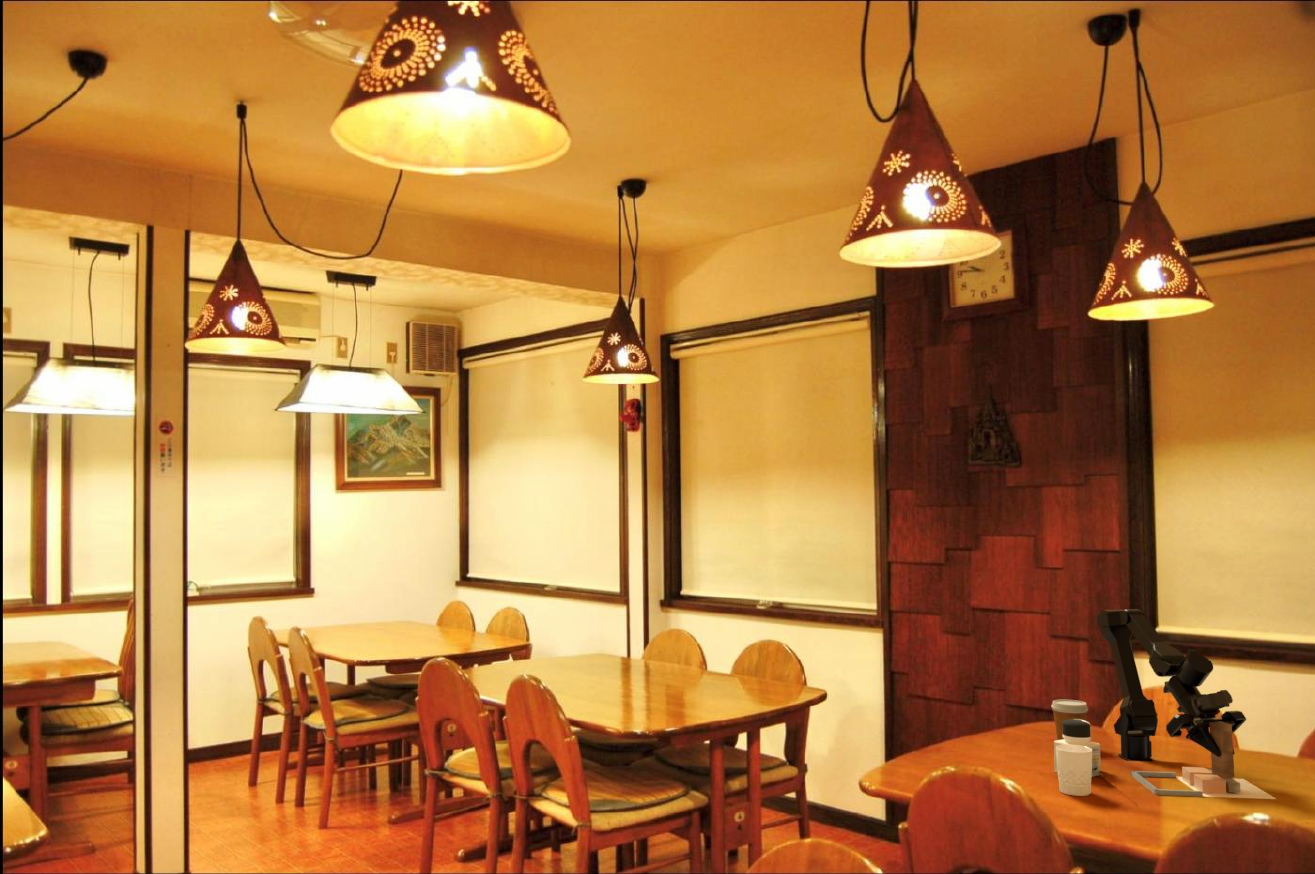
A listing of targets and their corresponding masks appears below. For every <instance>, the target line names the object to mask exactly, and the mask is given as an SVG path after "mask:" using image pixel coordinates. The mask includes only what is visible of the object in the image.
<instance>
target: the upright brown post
mask: <svg viewBox="0 0 1315 874" xmlns="http://www.w3.org/2000/svg"><path fill="white" fill-rule="evenodd" d="M1209 724H1210V727H1209V733H1210V734H1211V736H1212V738H1213V739H1214V741H1215V743H1216V744H1217V746H1218V748H1219V749H1220V752H1221V754H1222V755H1221V756H1220V757H1217V756H1216V755H1214V754H1213V753H1211V752H1210V759H1211V768H1209V769H1208V768H1206V769H1207V770H1209V771H1210V772H1212V773H1213V775H1218V776H1219V777H1221V778H1222V779H1224V780H1226V790H1227V791H1228V792H1240V783H1239V782H1237V781H1236V780H1234V779H1235V766H1234V765H1235V763H1234V762H1235V761H1234V755H1233V748H1234V743H1233V733H1232V724H1228V723H1224V722H1211V723H1209Z"/></svg>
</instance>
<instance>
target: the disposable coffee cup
mask: <svg viewBox="0 0 1315 874" xmlns="http://www.w3.org/2000/svg"><path fill="white" fill-rule="evenodd" d="M1050 706H1051V708H1052V712H1053V718H1054V725H1055V733H1056V739H1057V740H1063V739H1064V738H1063V733H1062V722H1063V721H1065V720H1067V719H1080V720H1085V721H1087V712H1088V710H1089V707H1088V705H1087V702H1085V701H1082V700H1075V699H1055V700H1052V703H1051V705H1050Z"/></svg>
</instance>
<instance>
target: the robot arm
mask: <svg viewBox="0 0 1315 874" xmlns="http://www.w3.org/2000/svg"><path fill="white" fill-rule="evenodd" d="M1096 623H1097V626H1098V628H1099V631H1100V633H1101V636H1102V637H1103V638H1104V639H1105V640H1106V641H1107V642H1108V643H1109V645H1110V648H1111V652H1112V656H1113V661H1114V665H1115V668H1116V672H1117V677H1118V680H1119V686H1120V688H1121V689H1120V690H1121V693H1122V701H1121V703H1120V707H1119V713H1120V715H1119V717H1118V718H1117V720H1115V723H1114V724H1113V728H1114V733H1115V734H1117V735H1119V736H1120V753H1118V754H1117V756H1118V757H1120V758H1122V759H1124V760H1126V761H1129V762H1154V761H1155V760H1154V758H1152V756H1153V754H1152V753H1153V751H1152V750H1153V749H1152V741H1151V739H1150V738H1151V737H1156V734H1157V733H1156V732H1157V728H1158V723H1159V719H1158V718H1159V717H1158V712H1157V710H1156V707H1155V702H1154V701H1153V699H1148V698H1147V697H1146V696H1145V695H1144V692H1143V689H1142V684H1141V681H1140V677H1139V676H1140V675H1139V671H1138V668H1137V664H1136V663H1137V662H1136V659H1135V656H1134V653H1133V648H1132V644H1131V638H1132V635H1133V636H1134V638H1136V641H1138V642H1139V644H1140V645H1141V646H1142V648H1143V649H1144V650H1145V651H1146V653H1147V654H1148V656H1149V657H1148V664H1149V665H1150V667H1151V669H1152V670H1153V672H1154V674H1155V675H1156V676H1157V677H1161V678H1166V677H1167V678H1168V677H1170V678H1169V680H1168V681H1165V682H1164V687H1163V690H1162V691H1163V693H1164V694H1169V693H1171V696H1173V698H1174V700H1175V701H1176V703H1177V704H1178V707H1177V708H1176V709H1177V711H1178V714H1177V713H1176V714H1175V715H1173V717H1172V718H1171V719H1170V720H1169V722H1168V723H1167V724H1166V726H1165V730H1166V732H1167V734H1168V736H1169V737H1170V738H1179V737H1181V736H1182V733H1183V731H1182V730H1184V729H1185V730H1186V732H1187V734H1186V736H1185V738H1186V739H1187V740H1190V741H1193V742H1194V743H1195V744H1197V745H1199V746H1201V747H1202V748H1204V749H1206V750H1207V751H1208V752H1209V753H1210V754H1211V753H1213V754H1214V755H1216V756H1217V757H1220V756H1221V755H1222V754H1221V752H1220V749H1219V748H1218V746H1217V744H1216V743H1215V741H1214V739H1213V738H1212V736H1211V734H1210V724H1209V723H1211V722H1224V723H1228V724H1232V734H1234V733H1235V732H1236V731H1237V730H1238V729H1239V728H1240V727H1241V726H1242V725H1243V724H1244V723H1245V722H1246V721H1247V717H1246V716H1245V714H1244V713H1243V712H1242V711H1240V710H1227V711H1226V710H1225V711H1224V712H1223V714H1222V715H1220V717H1217V716H1216V715H1219V714H1220V713H1221V709H1224V708H1228V707H1230V706H1231V705H1230V704H1232V703H1233V701H1234V700H1233V697H1232V695H1231V694H1230V692H1229V691H1228V690H1227V689H1222V690H1219V691H1217V692H1211V693H1207V694H1206V693H1201V692H1200V690H1199V688H1198V687H1201V686H1202V685H1203V683H1204V682H1205V681H1206V680H1207V678H1208V677H1209V676H1210V674H1211V673H1212V672H1213V670H1214V665H1213V662H1212V661H1211V660H1210V659H1209V658H1207V657H1206V656H1204V655H1202V654H1200V653H1199V652H1198V650H1195V649H1194V650H1188V651H1187V653H1186V655H1184V654H1183V653H1182V652H1181V651H1180V650H1179V649H1177V648H1175V646H1174V647H1173V646H1172V645H1169V644H1168V643H1166V642H1165V640H1163V638H1162V636H1161V635H1160V634H1159V633H1158V632H1157V631H1156V629H1155V628H1154V627H1153V625H1151V622H1150V621H1148V619H1147V618H1146V617H1145V613H1144V611H1142V610H1140V609H1103V610H1101V611H1100V612H1099V614H1097V617H1096ZM1235 752H1236V751H1235V750H1234V747H1233V756H1235V754H1236V753H1235Z"/></svg>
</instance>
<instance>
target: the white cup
mask: <svg viewBox="0 0 1315 874" xmlns="http://www.w3.org/2000/svg"><path fill="white" fill-rule="evenodd" d="M1056 757H1057V772H1058V773H1057V772H1056V773H1057V779H1058V784H1059V785H1058V787H1059V792H1060V793H1062V794H1064V795H1068V796H1074V797H1087V796H1089V795H1091V792H1092V788H1091V786H1092V784H1091V783H1092V749H1091V748H1089V747H1085V746H1080V745H1070V744H1064V745H1058V746H1056Z"/></svg>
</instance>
